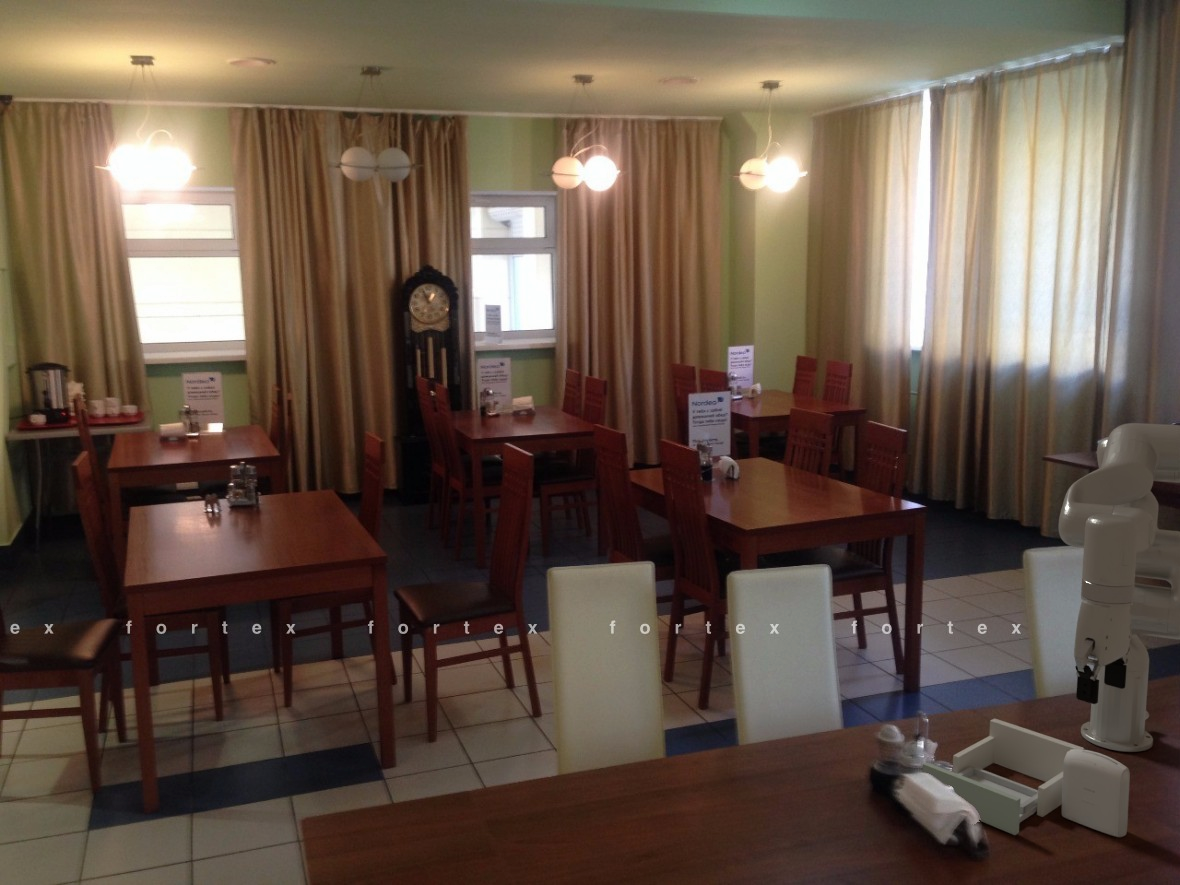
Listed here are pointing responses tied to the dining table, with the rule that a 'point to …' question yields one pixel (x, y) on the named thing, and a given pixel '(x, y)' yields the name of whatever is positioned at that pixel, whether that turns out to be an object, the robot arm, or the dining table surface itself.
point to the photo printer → (1096, 791)
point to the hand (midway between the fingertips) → (1100, 693)
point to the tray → (991, 795)
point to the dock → (1021, 758)
